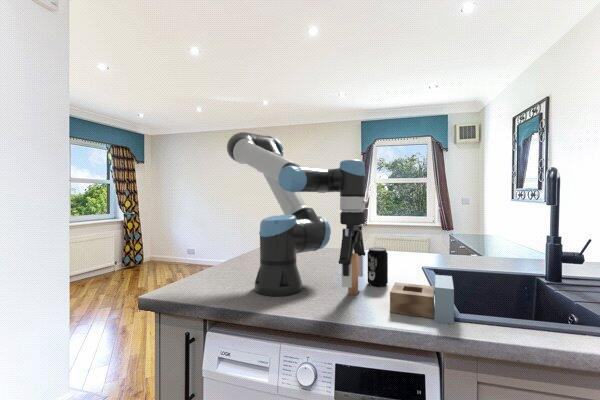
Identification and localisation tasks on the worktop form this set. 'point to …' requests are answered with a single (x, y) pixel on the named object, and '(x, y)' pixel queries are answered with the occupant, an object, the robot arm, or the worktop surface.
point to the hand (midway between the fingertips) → (353, 281)
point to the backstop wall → (444, 299)
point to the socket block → (412, 299)
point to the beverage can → (377, 267)
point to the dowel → (354, 275)
